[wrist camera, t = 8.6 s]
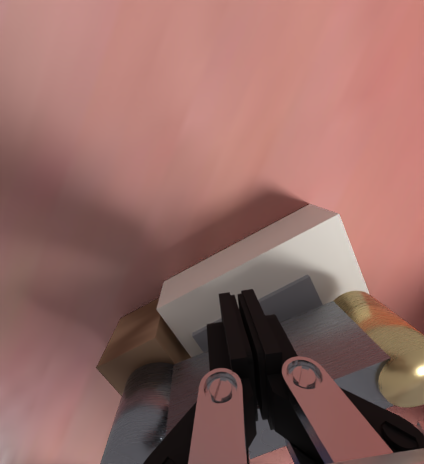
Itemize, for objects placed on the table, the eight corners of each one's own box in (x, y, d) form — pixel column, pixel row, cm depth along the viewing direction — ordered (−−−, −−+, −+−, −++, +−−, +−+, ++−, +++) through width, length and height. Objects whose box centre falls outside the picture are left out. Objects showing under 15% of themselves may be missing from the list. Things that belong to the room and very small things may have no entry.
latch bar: (145, 423, 15) (125, 522, 10) (112, 378, 13) (76, 470, 9) (382, 331, 14) (459, 399, 10) (369, 274, 13) (449, 326, 9)
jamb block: (165, 294, 18) (155, 337, 13) (203, 349, 19) (205, 404, 15) (120, 318, 18) (96, 367, 14) (161, 370, 20) (152, 430, 15)
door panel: (309, 203, 17) (342, 214, 13) (367, 343, 20) (405, 382, 17) (163, 281, 17) (155, 312, 14) (245, 400, 21) (255, 449, 18)
